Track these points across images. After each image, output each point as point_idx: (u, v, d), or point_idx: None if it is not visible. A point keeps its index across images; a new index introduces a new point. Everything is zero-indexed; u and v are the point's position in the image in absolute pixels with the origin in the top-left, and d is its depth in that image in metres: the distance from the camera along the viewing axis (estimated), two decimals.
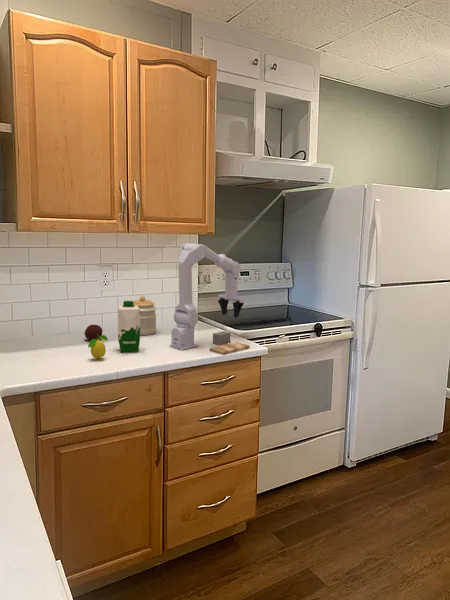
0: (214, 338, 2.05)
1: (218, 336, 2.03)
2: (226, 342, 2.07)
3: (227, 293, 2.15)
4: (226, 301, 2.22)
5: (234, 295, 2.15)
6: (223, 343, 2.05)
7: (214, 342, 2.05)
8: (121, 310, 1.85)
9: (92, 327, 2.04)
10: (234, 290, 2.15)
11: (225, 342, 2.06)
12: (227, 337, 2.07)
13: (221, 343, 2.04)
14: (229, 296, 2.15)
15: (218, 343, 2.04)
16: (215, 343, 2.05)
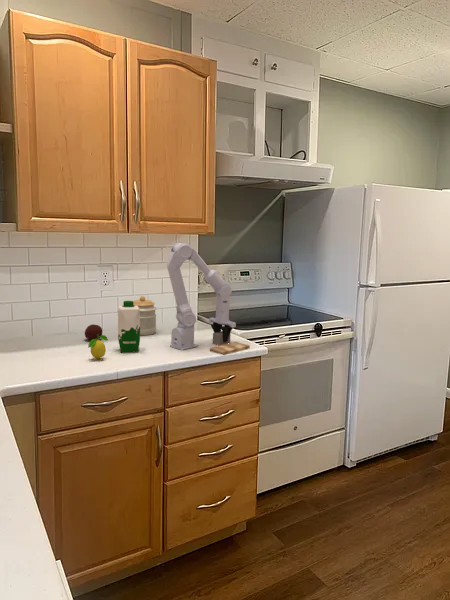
0: (214, 338, 2.05)
1: (218, 336, 2.03)
2: (226, 342, 2.07)
3: (218, 317, 2.03)
4: (220, 325, 2.08)
5: (225, 319, 2.03)
6: (223, 343, 2.05)
7: (214, 342, 2.05)
8: (121, 310, 1.85)
9: (92, 327, 2.04)
10: (226, 313, 2.03)
11: (225, 342, 2.06)
12: None
13: (221, 343, 2.04)
14: (220, 320, 2.03)
15: (218, 343, 2.04)
16: (215, 343, 2.05)
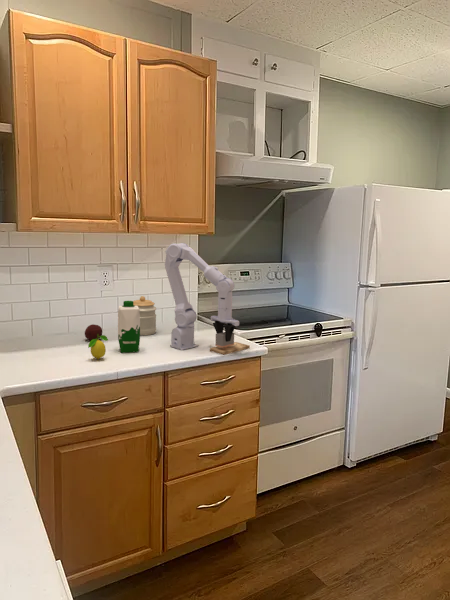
0: (217, 339, 1.93)
1: (221, 337, 1.91)
2: (230, 343, 1.95)
3: (220, 315, 1.91)
4: (222, 324, 1.96)
5: (228, 317, 1.91)
6: (226, 344, 1.93)
7: (217, 343, 1.93)
8: (121, 310, 1.85)
9: (92, 327, 2.04)
10: (228, 311, 1.91)
11: (229, 343, 1.94)
12: (231, 338, 1.95)
13: (224, 344, 1.92)
14: (222, 318, 1.90)
15: (221, 344, 1.92)
16: (218, 344, 1.93)
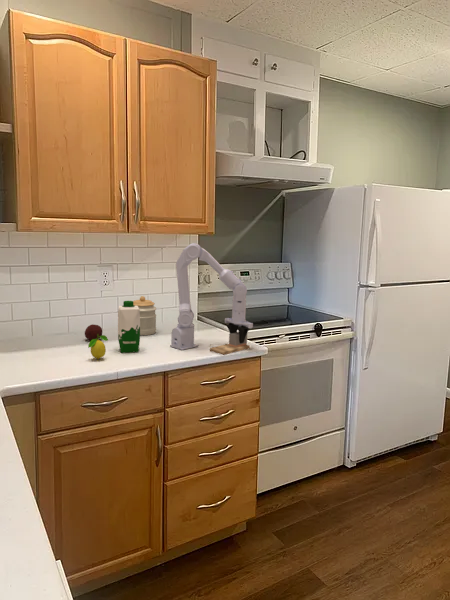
0: (230, 338, 1.99)
1: (235, 336, 1.98)
2: (243, 343, 2.01)
3: (234, 317, 1.97)
4: (236, 326, 2.03)
5: (242, 320, 1.97)
6: (240, 344, 2.00)
7: (230, 343, 2.00)
8: (121, 310, 1.85)
9: (92, 327, 2.04)
10: (242, 314, 1.97)
11: (242, 343, 2.00)
12: None
13: (237, 344, 1.99)
14: (237, 321, 1.97)
15: (235, 344, 1.98)
16: (231, 344, 1.99)
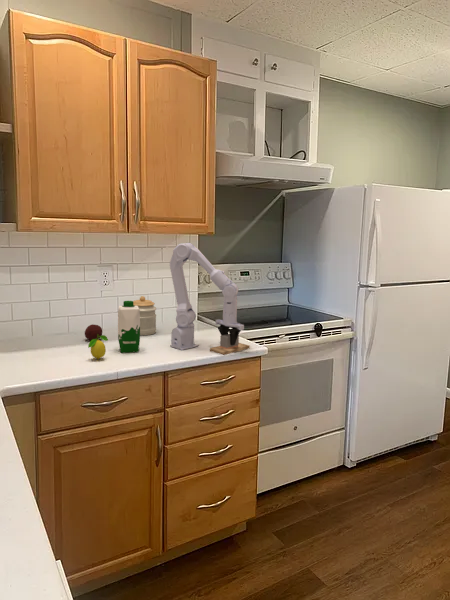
0: (222, 340, 1.95)
1: (226, 338, 1.94)
2: (234, 345, 1.97)
3: (225, 319, 1.93)
4: (227, 328, 1.99)
5: (233, 321, 1.93)
6: (231, 346, 1.96)
7: (222, 345, 1.96)
8: (121, 310, 1.85)
9: (92, 327, 2.04)
10: (233, 315, 1.93)
11: (233, 345, 1.97)
12: (236, 339, 1.97)
13: (229, 346, 1.95)
14: (227, 322, 1.93)
15: (226, 346, 1.94)
16: (223, 346, 1.95)
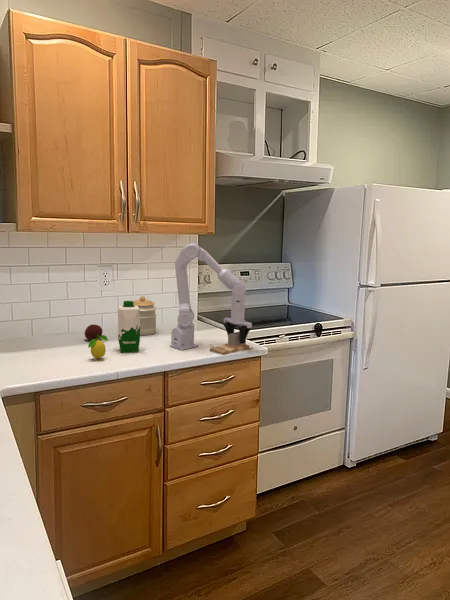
0: (229, 339, 1.99)
1: (234, 337, 1.97)
2: None
3: (233, 317, 1.97)
4: (233, 325, 2.03)
5: (241, 319, 1.97)
6: (239, 344, 1.99)
7: (229, 343, 1.99)
8: (121, 310, 1.85)
9: (92, 327, 2.04)
10: (241, 313, 1.97)
11: None
12: None
13: (236, 344, 1.98)
14: (235, 320, 1.97)
15: (234, 344, 1.98)
16: (230, 344, 1.99)
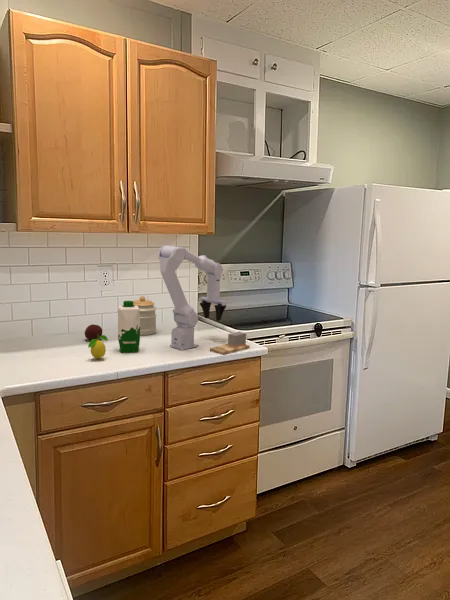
0: (229, 339, 1.99)
1: (234, 337, 1.97)
2: (242, 343, 2.00)
3: (209, 295, 2.07)
4: (208, 304, 2.14)
5: (216, 297, 2.07)
6: (239, 344, 1.99)
7: (229, 343, 1.99)
8: (121, 310, 1.85)
9: (92, 327, 2.04)
10: (216, 292, 2.07)
11: (241, 343, 2.00)
12: (243, 338, 2.01)
13: (236, 344, 1.98)
14: (211, 299, 2.07)
15: (234, 344, 1.98)
16: (230, 344, 1.99)
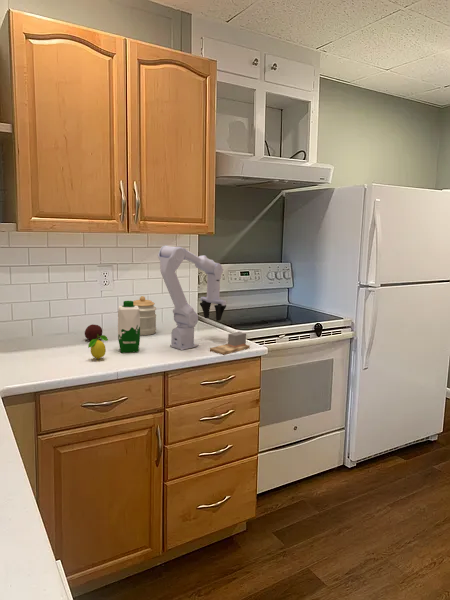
0: (229, 339, 1.99)
1: (234, 337, 1.97)
2: (242, 343, 2.00)
3: (209, 295, 2.07)
4: (208, 304, 2.14)
5: (216, 297, 2.07)
6: (239, 344, 1.99)
7: (229, 343, 1.99)
8: (121, 310, 1.85)
9: (92, 327, 2.04)
10: (216, 292, 2.07)
11: (241, 343, 2.00)
12: (243, 338, 2.01)
13: (236, 344, 1.98)
14: (211, 299, 2.07)
15: (234, 344, 1.98)
16: (230, 344, 1.99)
